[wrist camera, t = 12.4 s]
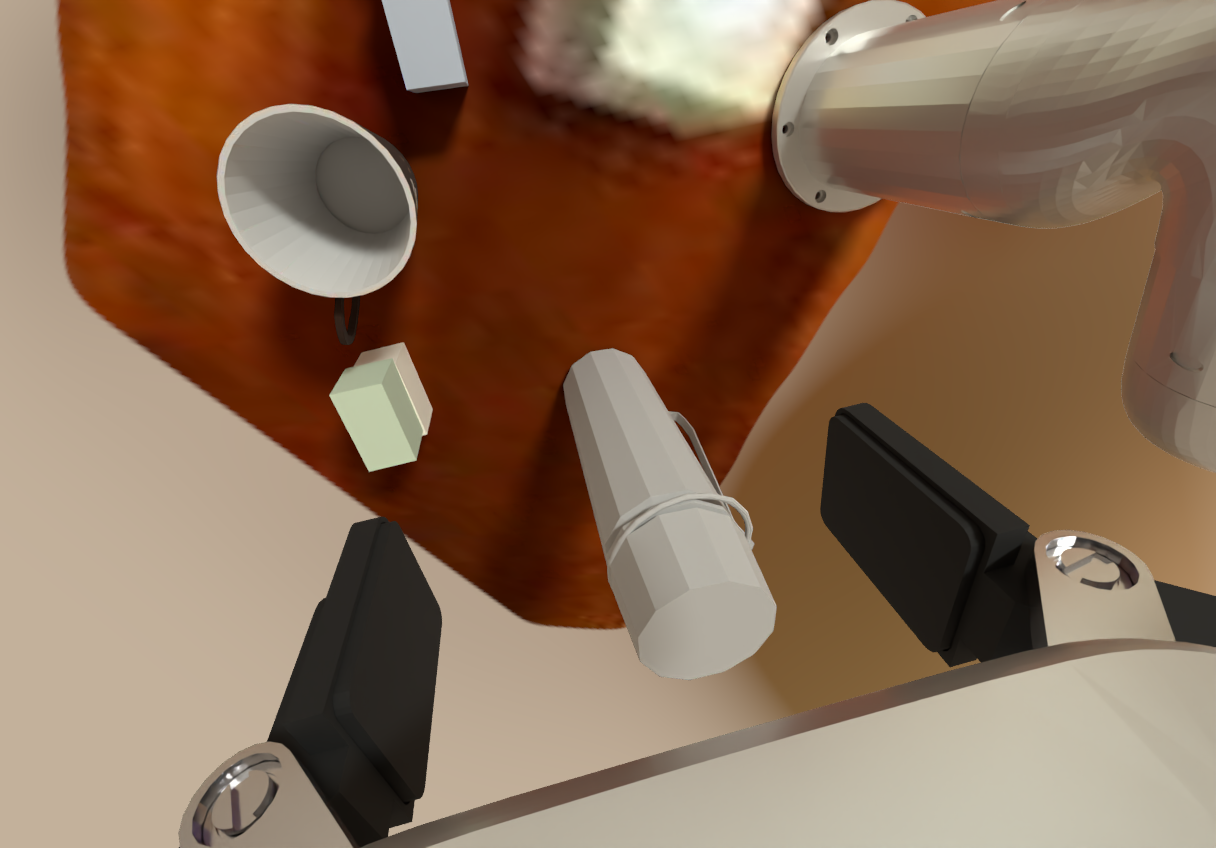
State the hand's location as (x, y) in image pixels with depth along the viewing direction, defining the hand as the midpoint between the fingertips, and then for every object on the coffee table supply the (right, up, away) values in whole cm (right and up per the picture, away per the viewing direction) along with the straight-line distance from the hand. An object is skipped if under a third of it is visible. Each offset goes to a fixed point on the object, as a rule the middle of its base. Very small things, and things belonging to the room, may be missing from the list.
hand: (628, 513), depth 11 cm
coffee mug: (-17, +16, +23) cm, 33 cm away
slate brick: (-11, +25, +19) cm, 33 cm away
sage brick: (-16, +4, +26) cm, 31 cm away
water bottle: (0, +5, +33) cm, 33 cm away
